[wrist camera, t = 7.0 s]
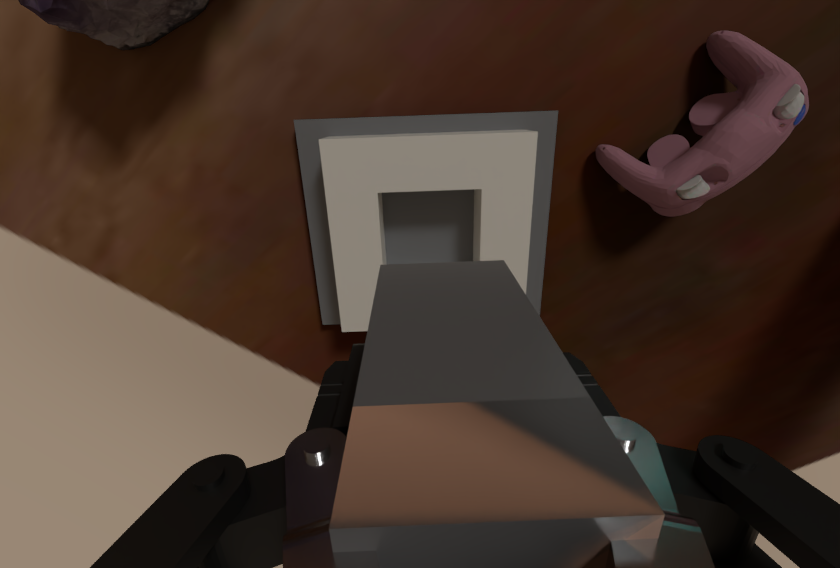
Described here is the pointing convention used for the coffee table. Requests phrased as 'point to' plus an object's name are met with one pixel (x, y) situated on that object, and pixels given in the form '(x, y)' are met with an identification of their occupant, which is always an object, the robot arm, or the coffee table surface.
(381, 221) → the socket
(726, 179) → the video game controller
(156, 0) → the geode
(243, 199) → the coffee table surface
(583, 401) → the plug
